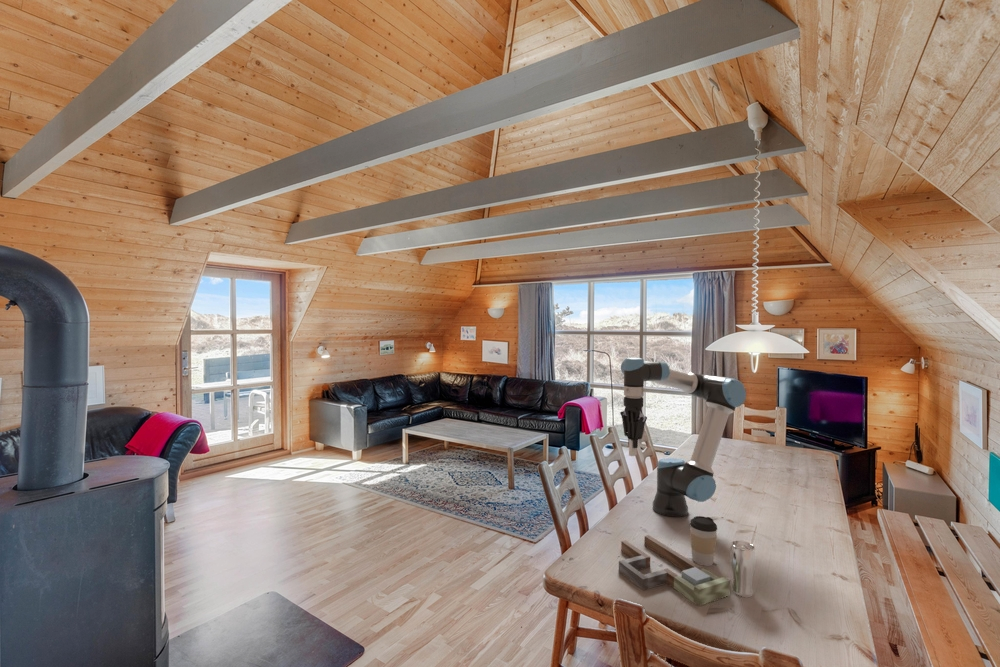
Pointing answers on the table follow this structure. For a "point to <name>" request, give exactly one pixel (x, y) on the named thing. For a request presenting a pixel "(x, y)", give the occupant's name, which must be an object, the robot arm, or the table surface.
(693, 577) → the block
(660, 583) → the corridor
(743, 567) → the beer glass
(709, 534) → the coffee cup
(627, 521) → the table surface
